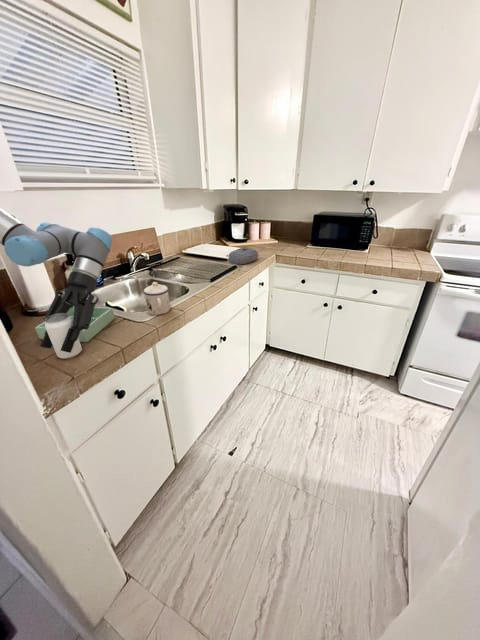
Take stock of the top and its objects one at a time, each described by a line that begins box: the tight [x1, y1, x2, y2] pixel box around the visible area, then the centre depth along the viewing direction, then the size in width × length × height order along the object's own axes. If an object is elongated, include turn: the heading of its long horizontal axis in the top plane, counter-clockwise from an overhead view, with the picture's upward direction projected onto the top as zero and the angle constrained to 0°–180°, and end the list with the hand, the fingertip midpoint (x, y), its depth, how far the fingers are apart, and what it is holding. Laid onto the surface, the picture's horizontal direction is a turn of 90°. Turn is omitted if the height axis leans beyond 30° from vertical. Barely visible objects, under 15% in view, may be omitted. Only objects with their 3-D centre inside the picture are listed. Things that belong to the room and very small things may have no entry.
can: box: [44, 313, 83, 360], centre depth 75 cm, size 6×6×12 cm
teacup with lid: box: [143, 281, 171, 316], centre depth 100 cm, size 12×9×12 cm
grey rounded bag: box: [228, 247, 259, 266], centre depth 166 cm, size 15×8×20 cm
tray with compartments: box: [34, 306, 116, 343], centre depth 90 cm, size 17×17×4 cm
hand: (55, 349), depth 73 cm, fingers closed on can, 6 cm apart
